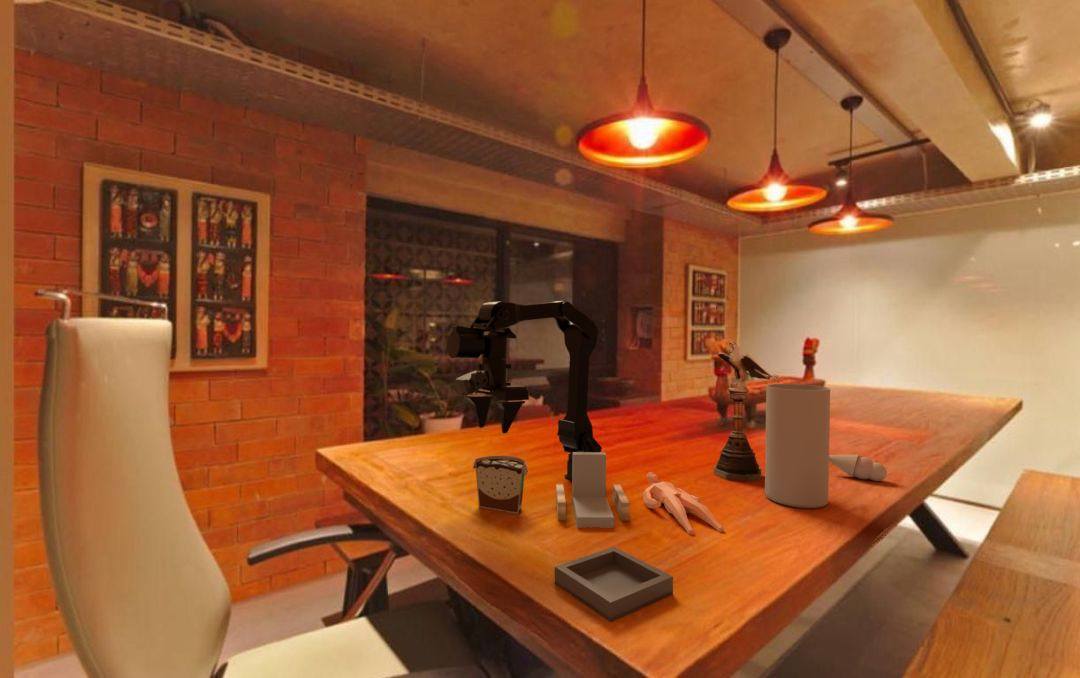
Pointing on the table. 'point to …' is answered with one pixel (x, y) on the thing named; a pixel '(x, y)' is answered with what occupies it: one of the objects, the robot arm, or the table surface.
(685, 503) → the male figurine
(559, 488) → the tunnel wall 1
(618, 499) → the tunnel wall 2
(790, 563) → the table surface
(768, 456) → the cylinder vase
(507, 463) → the food container
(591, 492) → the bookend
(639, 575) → the tray
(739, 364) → the bird statue
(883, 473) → the ice cream cone
